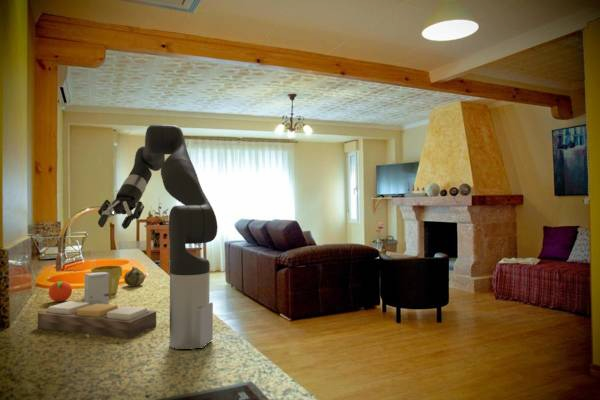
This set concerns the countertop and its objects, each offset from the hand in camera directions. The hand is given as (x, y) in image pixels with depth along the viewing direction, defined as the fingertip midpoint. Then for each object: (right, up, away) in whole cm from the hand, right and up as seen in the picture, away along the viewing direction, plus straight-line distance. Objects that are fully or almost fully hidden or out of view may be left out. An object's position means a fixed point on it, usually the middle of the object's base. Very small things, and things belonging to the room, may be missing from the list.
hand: (111, 226), depth 137 cm
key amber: (+7, -22, -24) cm, 33 cm away
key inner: (+16, -22, -26) cm, 38 cm away
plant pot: (-10, -26, +18) cm, 33 cm away
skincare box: (-1, -26, -9) cm, 28 cm away
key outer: (-3, -22, -21) cm, 31 cm away
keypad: (+7, -26, -24) cm, 36 cm away
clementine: (-20, -26, +5) cm, 33 cm away
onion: (-6, -26, +33) cm, 42 cm away
